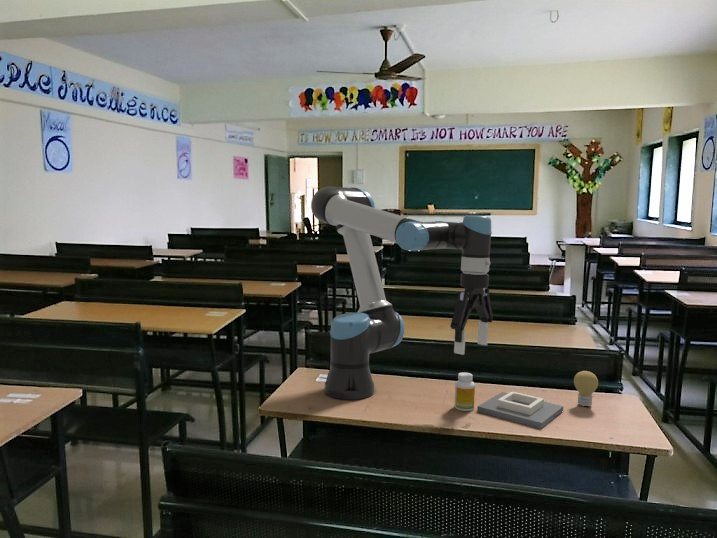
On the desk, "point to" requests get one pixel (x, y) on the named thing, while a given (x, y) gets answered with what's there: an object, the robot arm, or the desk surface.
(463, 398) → the supplement bottle
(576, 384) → the light bulb
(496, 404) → the holder board
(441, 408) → the desk surface
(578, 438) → the desk surface
